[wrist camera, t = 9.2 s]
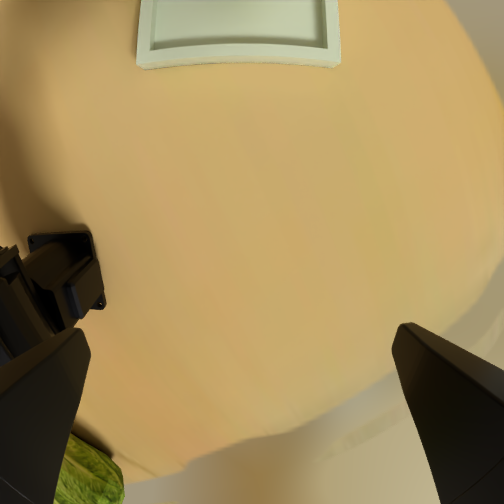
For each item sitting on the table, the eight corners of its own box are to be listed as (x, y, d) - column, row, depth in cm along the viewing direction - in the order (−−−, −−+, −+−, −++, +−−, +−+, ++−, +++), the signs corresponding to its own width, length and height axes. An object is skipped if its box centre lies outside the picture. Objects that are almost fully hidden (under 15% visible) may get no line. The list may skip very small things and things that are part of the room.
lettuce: (-11, 386, 29) (11, 347, 27) (99, 476, 35) (145, 459, 33) (-52, 439, 15) (-48, 413, 13) (80, 538, 21) (129, 539, 19)
